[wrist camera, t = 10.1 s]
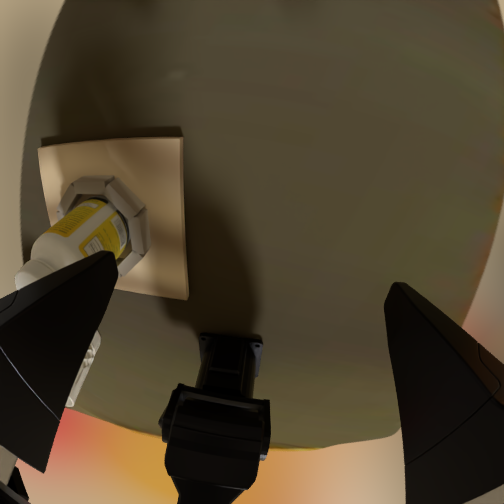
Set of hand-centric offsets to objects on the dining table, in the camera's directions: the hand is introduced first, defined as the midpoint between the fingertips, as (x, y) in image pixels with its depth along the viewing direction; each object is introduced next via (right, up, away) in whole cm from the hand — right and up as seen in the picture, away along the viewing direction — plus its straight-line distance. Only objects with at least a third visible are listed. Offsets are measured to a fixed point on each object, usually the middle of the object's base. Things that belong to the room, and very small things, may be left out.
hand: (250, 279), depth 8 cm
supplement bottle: (-12, +3, +13) cm, 18 cm away
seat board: (-12, +4, +14) cm, 19 cm away
